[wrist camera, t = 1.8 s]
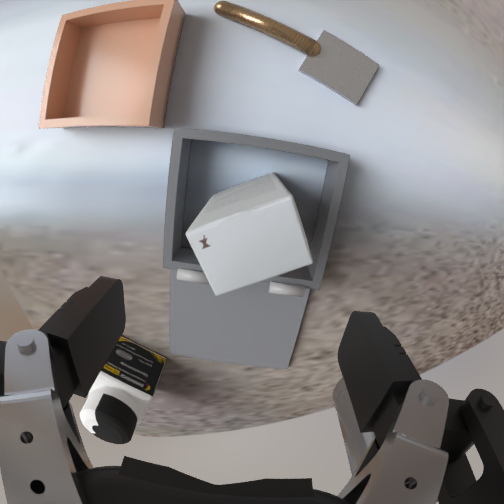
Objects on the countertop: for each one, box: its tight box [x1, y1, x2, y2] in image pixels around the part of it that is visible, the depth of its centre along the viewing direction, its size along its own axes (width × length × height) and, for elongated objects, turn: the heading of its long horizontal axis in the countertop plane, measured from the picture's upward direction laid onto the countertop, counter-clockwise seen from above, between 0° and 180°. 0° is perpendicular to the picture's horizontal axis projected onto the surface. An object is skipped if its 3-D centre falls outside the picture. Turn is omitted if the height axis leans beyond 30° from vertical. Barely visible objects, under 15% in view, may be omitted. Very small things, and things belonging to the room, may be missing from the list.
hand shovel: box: [214, 1, 379, 105], centre depth 20 cm, size 16×5×2 cm, turn 61°
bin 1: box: [39, 0, 185, 129], centre depth 20 cm, size 12×12×4 cm
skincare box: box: [186, 173, 313, 296], centre depth 21 cm, size 6×4×12 cm
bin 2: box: [163, 128, 350, 369], centre depth 27 cm, size 14×24×4 cm, turn 171°
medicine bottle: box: [80, 336, 166, 444], centre depth 28 cm, size 7×7×12 cm
